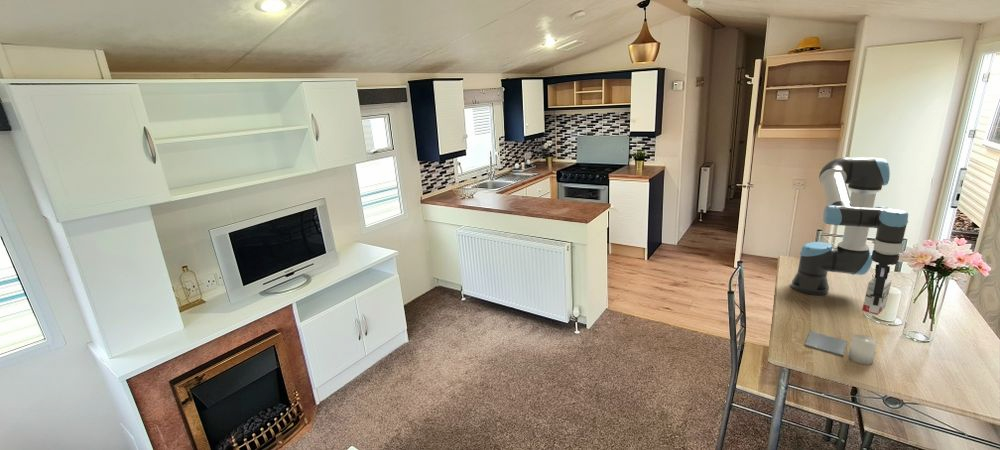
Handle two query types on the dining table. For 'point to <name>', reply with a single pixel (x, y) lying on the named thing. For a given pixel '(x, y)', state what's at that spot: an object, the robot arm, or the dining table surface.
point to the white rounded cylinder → (862, 349)
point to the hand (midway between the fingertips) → (874, 306)
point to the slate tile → (826, 343)
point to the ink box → (870, 291)
